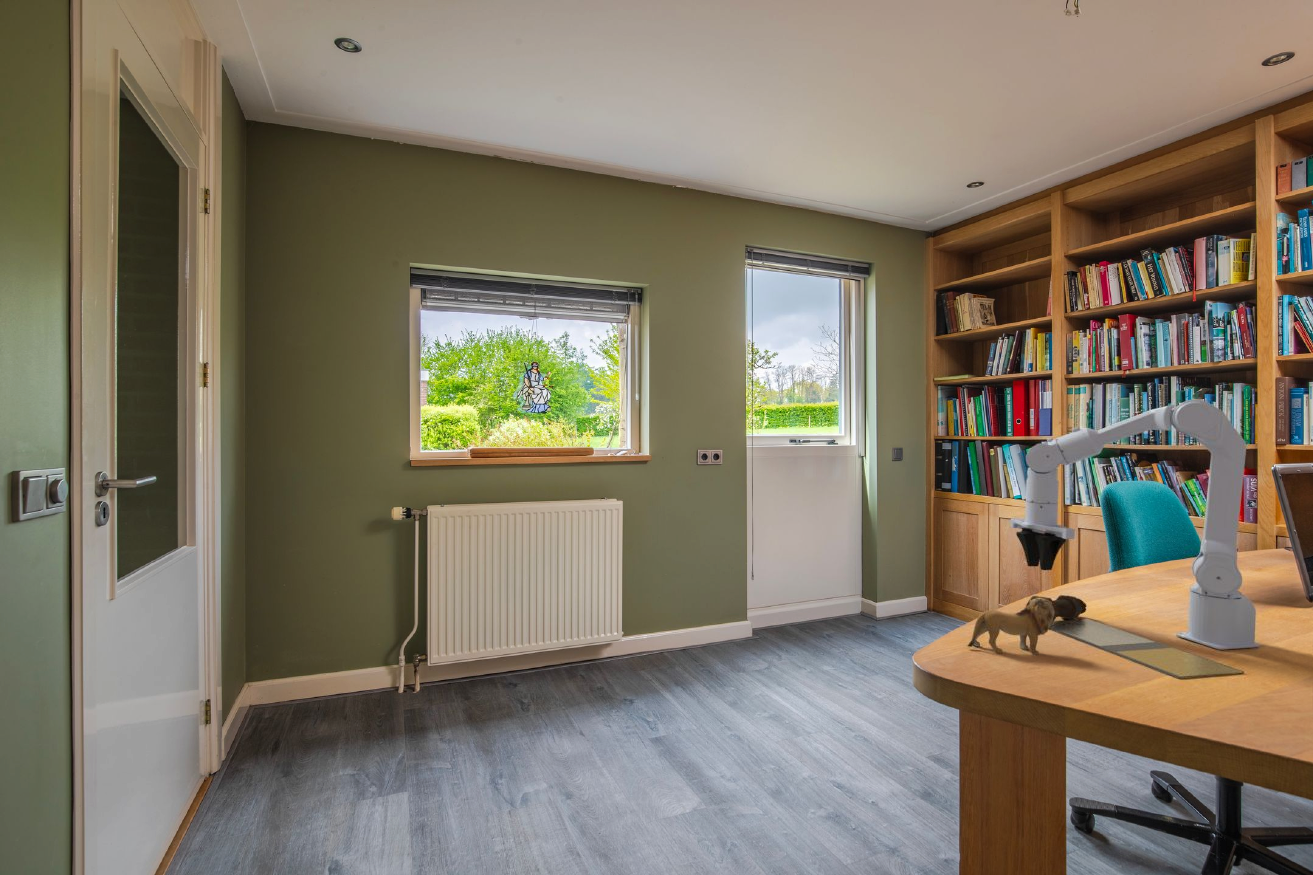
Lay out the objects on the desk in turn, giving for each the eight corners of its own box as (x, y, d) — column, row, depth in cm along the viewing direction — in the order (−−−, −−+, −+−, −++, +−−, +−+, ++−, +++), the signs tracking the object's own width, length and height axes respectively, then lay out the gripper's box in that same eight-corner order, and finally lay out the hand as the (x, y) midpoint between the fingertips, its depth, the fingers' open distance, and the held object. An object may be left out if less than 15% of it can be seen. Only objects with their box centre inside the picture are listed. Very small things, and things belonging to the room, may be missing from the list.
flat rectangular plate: (1089, 620, 130) (1089, 618, 130) (1243, 673, 103) (1243, 671, 103) (1034, 623, 127) (1034, 621, 127) (1178, 678, 100) (1178, 676, 100)
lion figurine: (1041, 645, 115) (1043, 594, 114) (1061, 655, 109) (1063, 602, 109) (959, 644, 114) (961, 593, 114) (976, 655, 109) (977, 601, 108)
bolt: (1083, 625, 132) (1043, 631, 124) (1060, 608, 136) (1020, 614, 128) (1098, 602, 130) (1058, 607, 122) (1075, 586, 134) (1034, 590, 126)
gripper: (999, 498, 140) (997, 560, 140) (1054, 506, 126) (1052, 576, 126) (1026, 498, 142) (1024, 560, 142) (1084, 506, 128) (1082, 575, 128)
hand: (1039, 567), depth 134 cm, fingers open, 3 cm apart
